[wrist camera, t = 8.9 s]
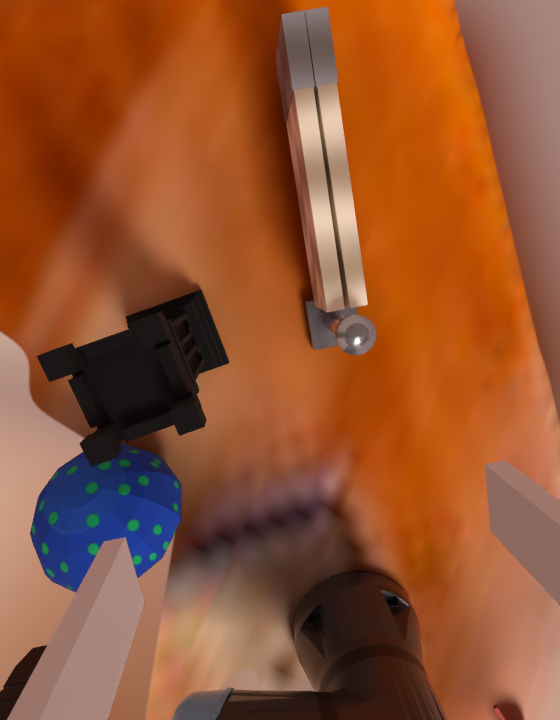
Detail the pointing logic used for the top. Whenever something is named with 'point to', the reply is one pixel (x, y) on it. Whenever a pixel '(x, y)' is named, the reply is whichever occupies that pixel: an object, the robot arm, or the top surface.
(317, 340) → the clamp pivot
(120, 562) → the robot arm
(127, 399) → the chess piece
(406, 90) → the top surface
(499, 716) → the figurine
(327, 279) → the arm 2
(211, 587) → the top surface
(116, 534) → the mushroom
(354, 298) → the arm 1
